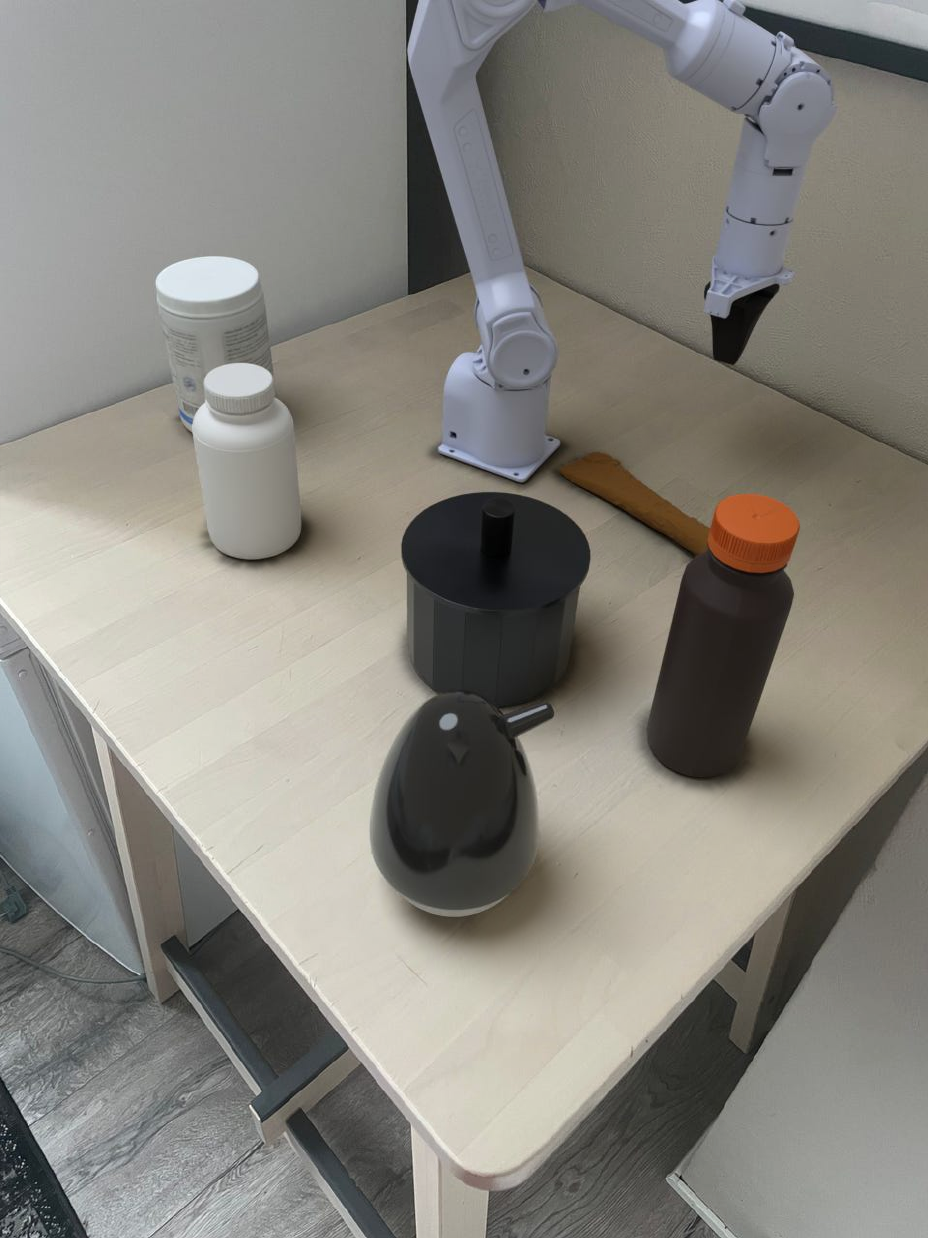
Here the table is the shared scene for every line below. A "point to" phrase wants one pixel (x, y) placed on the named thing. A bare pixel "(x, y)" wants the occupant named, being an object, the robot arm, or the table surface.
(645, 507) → the primitive tool
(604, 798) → the table surface
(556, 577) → the pot lid
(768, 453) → the table surface
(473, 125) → the robot arm
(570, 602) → the pot
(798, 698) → the table surface
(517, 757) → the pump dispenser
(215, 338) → the supplement tub
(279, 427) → the pill bottle
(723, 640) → the bottle
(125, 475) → the table surface
